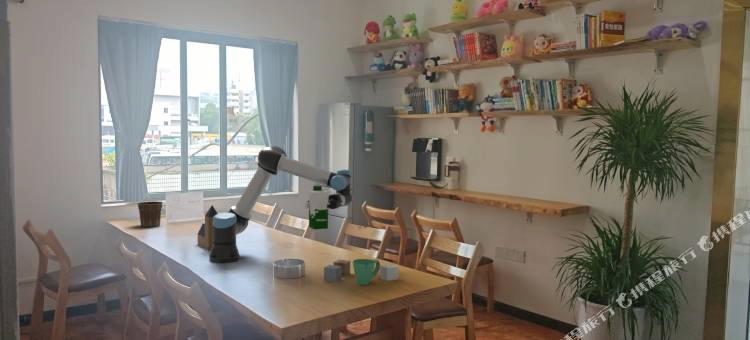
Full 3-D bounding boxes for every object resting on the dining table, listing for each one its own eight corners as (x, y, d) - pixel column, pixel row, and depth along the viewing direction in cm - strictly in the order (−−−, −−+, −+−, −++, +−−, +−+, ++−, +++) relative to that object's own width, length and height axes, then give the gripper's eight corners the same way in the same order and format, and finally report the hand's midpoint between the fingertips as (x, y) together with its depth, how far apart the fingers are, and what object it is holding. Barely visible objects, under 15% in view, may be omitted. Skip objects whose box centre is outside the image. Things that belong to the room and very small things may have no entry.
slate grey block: (323, 280, 243) (324, 267, 243) (329, 277, 249) (330, 264, 248) (335, 282, 241) (336, 269, 240) (341, 278, 246) (341, 266, 246)
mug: (363, 288, 232) (364, 265, 232) (347, 283, 239) (348, 261, 238) (386, 281, 243) (386, 259, 242) (370, 277, 250) (370, 256, 249)
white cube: (379, 278, 250) (380, 265, 249) (390, 276, 253) (391, 263, 252) (387, 281, 245) (387, 268, 244) (397, 279, 248) (398, 266, 247)
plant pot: (132, 227, 363) (132, 203, 362) (146, 223, 379) (146, 200, 377) (154, 228, 360) (154, 204, 359) (167, 224, 376) (167, 201, 375)
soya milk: (323, 225, 264) (324, 185, 263) (330, 228, 256) (331, 187, 255) (306, 226, 260) (307, 185, 259) (313, 230, 252) (313, 187, 251)
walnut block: (333, 274, 254) (333, 262, 253) (338, 271, 259) (338, 259, 259) (344, 276, 251) (345, 263, 251) (350, 273, 257) (350, 260, 257)
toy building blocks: (208, 250, 298) (208, 205, 296) (197, 244, 313) (197, 202, 311) (230, 248, 305) (230, 204, 304) (218, 242, 320) (218, 200, 319)
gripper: (354, 209, 271) (334, 215, 250) (316, 206, 278) (294, 212, 257) (354, 195, 270) (334, 199, 249) (316, 192, 278) (294, 196, 257)
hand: (314, 206), depth 253 cm, fingers closed on soya milk, 8 cm apart
